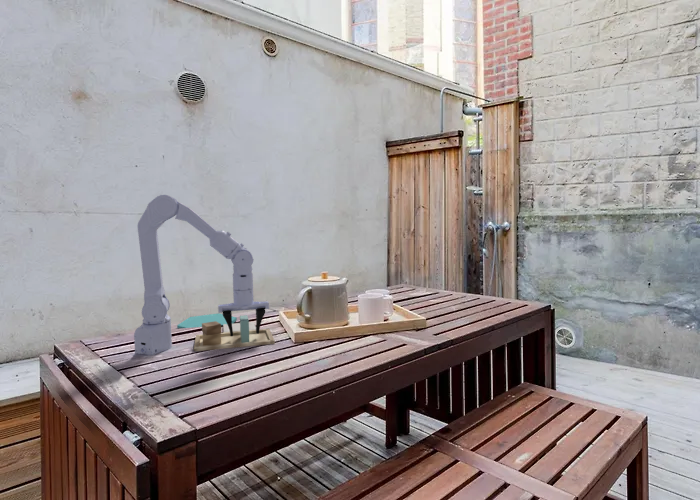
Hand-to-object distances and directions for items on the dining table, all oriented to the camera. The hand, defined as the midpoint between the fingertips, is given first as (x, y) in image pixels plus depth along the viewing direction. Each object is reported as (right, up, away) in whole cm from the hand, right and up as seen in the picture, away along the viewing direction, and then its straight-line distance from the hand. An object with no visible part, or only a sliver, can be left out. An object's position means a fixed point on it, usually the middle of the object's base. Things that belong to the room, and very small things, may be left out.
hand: (244, 334), depth 131 cm
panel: (0, -2, 0) cm, 2 cm away
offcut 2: (-9, -2, -3) cm, 9 cm away
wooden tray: (-3, -3, -1) cm, 4 cm away
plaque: (-18, -2, +23) cm, 30 cm away
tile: (-5, -2, +12) cm, 13 cm away
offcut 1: (-9, +1, -3) cm, 9 cm away
